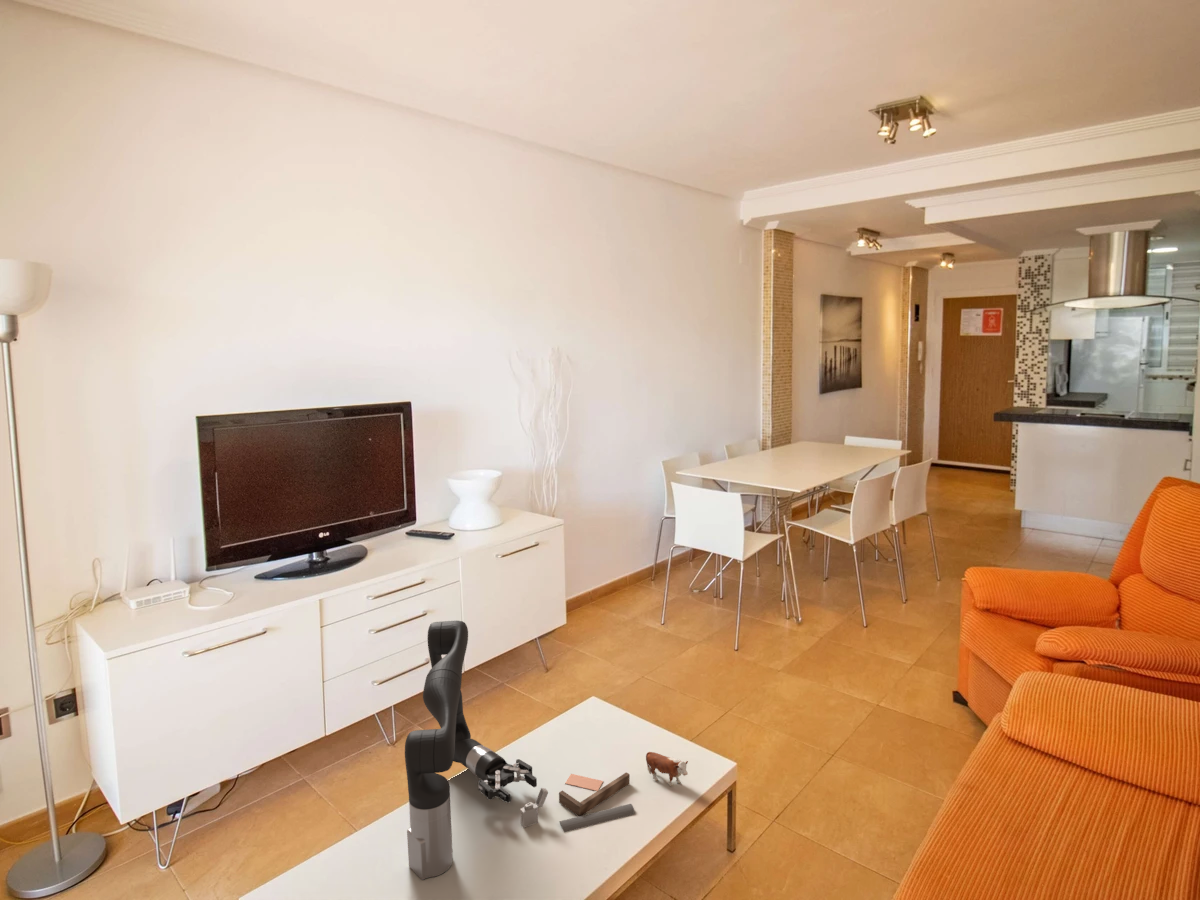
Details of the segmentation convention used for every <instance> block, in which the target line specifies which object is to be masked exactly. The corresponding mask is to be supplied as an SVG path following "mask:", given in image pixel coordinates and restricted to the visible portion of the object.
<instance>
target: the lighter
mask: <svg viewBox="0 0 1200 900" xmlns="http://www.w3.org/2000/svg"><path fill="white" fill-rule="evenodd" d="M548 794H549V790H547V788H543V787H541V788H540V790H539V792H538V795H537V797H536V799H535V802H534V803H533V802H532V801H531V802H530V801H529V802H527V803H525V805H524V806H523V807H521V808H519V809H520V826H521V827H522V828H527V827H529V826H533V825H535V824H537V823H539V812H538V811H539V810H538V809H539V808H543V807H544V803H545V802H546V799H547V796H548Z"/></svg>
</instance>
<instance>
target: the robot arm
mask: <svg viewBox="0 0 1200 900" xmlns="http://www.w3.org/2000/svg"><path fill="white" fill-rule="evenodd" d="M468 641H469V627H468V626H467V623H466V622H465V621H464V620H463V621H462V620H445V621H434V622H431V623H430V625H429V627H428V630H427V649H428V654H429V655H428V656H429V659H430V660H429V661H430V665H431V668H430V670H429V671H428V673H427V675H426V677H425V681H424V686H423V691H422V700H423V703H424V705H425V707H426V709H427V710H428V711H429V713H430V714H431V715H432V717H433V718H434V719H435V720H436V721H437V723H438V725H439V727H440V728H434V729H433V728H432V729H418V730H417V729H416V730H412V731H410V732H409V733H408V734H407V736H406V738H405V743H404V761H405V763H404V764H405V770H406V780H407V788H408V789H407V790H408V792H407V793H408V804H409V805H408V809H409V824H410V827H409V829H407V830H406V835H407V836H406V837H407V854H408V867H409V868H410V869H411V870H412V871H413V872H414V873H415V874H416V876H418V878H420V880H422V881H423V880H425V879H427V878H435V877H438V876H440V875H442V874H443V873H445V872H447V871H448V870H449V868H450V867H451V866H452V864H453V860H454V858H453V853H454V850H453V833H452V813H451V812H452V810H451V807H452V806H451V790H450V789H451V788H450V787H451V786H450V782H449V780H448V779H447V778H446V777H445V776H444V775H442V774H440V773H444V772H447V771H449V770H450V769H451V767H452V765H453V763H458V764H461V765H463V766H464V767H465V768H467V769H468V770H469V772H471V774H472V775H474V776H476V777H477V778H478V779H479V780H477V781H478V785H477V786H478V791H479V792H480V793H481V794H482V795H483V796H484V797H486V798H487V799H488V800H490V801H491V800H494V798H497V799H499V800H501V801H502V802H505V803H508V804H509V803H510V802H512V796H511V794H510V792H508V791H507V790H505V789H504V788H503V787H507V786H508V785H509V784H511V783H513V782H514V783H520V781H522V782H525V783H526V784H528V785H529V786H531V787H533V788H536V787H537V784H538V783H537V777H536V776H534V775H533V766H532V765H530V764H528V763H526V762H525V761H523V760H521V759H516V760H515V763H513V764H510V763H507V761H506V760H505V758H504V757H502V756H501V755H499V754H498V753H496V752H495V751H494V750H492V749H491V748H488V747H487V746H484V745H483V744H482V743H480V742H479V741H477V740H476V739H473V738H472V737H471V736H472V735H471V731H470V729H469V727H468V724H467V721H466V717H465V714H464V706H463V705H464V704H463V693H462V690H461V689H462V680H463V678H462V677H463V668H464V660H465V657H466V653H467V652H466V651H467V648H468V644H469V643H468ZM444 655H445V656H444ZM442 656H444V657H442ZM515 773H516V777H515ZM521 775H522V776H521ZM492 787H495V788H492Z"/></svg>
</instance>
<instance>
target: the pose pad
mask: <svg viewBox="0 0 1200 900" xmlns="http://www.w3.org/2000/svg"><path fill="white" fill-rule="evenodd" d="M603 783H604V781H603V780H600V779H596V778H591V777H589V776H583V775H579V774H574V773H570V775H569V776H568V778H567V779H566V781H565V785H569V786H573V787H578V788H581V789H582V788H583V789H585V790H590V791H594V792H597V791H598V790H600V789H601V787H602V785H603Z"/></svg>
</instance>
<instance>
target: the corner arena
mask: <svg viewBox="0 0 1200 900" xmlns="http://www.w3.org/2000/svg"><path fill="white" fill-rule="evenodd" d="M629 785H630V773H628V772H624V773H623V774H621V775H620V776H619V777H616V778H615V779H613V780H612V781H611V782H609V783H608V784H606V785H604V786H603V787H600V788H599V790H598V791H594V793H592V794H590V795H589V796H588V797H587V798H584V799H583V800H582V801H578V800H577V799H576V798H574V797H573V796H571V795H569V794H568V793H567V792H565V790H561V791H559V793H558V803H559V804H560V805H562V806H563V807H565V808H566V809H567V810H569V811H570V812H571V813H573V814H574V815H576V817H579V816H583V815H587V813H589V812H590V811H592V810H593V809H595V808H596V807H598V806H599V805H601V804H602V803H604V802H605V801H606V800H608V799H609V798H610V797H612V796H614V795H616V794H617V793H619V791H621V790H623V789H625V788H626V787H627V786H629Z"/></svg>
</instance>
